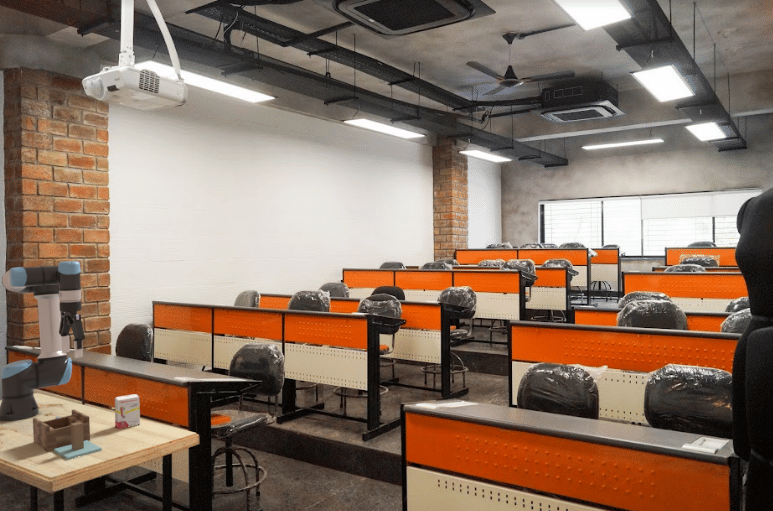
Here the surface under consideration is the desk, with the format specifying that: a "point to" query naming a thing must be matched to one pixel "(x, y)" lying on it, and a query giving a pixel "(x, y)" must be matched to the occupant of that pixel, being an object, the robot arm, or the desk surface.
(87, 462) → the desk surface
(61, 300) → the robot arm
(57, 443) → the walnut box
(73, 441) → the lid
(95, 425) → the desk surface
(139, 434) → the desk surface
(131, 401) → the ink box
